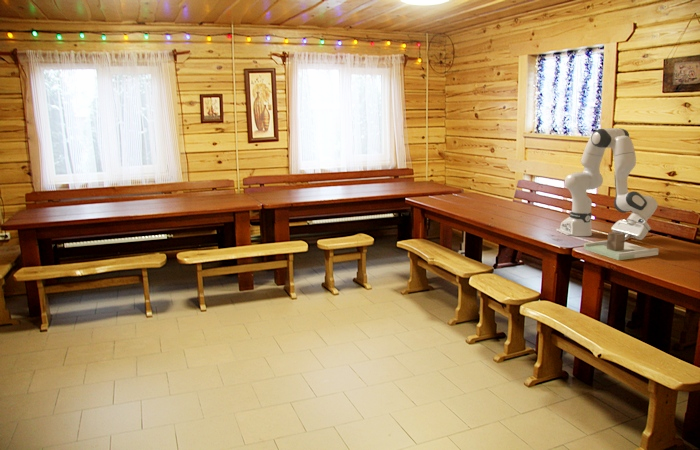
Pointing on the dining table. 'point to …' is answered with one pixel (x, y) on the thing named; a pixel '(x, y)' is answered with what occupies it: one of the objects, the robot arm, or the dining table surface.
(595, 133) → the robot arm
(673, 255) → the dining table surface
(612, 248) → the walnut block
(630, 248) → the board
